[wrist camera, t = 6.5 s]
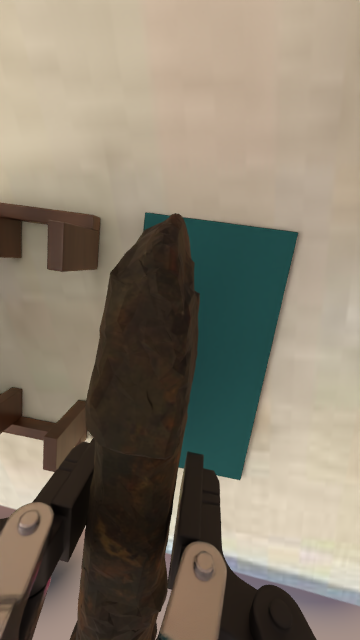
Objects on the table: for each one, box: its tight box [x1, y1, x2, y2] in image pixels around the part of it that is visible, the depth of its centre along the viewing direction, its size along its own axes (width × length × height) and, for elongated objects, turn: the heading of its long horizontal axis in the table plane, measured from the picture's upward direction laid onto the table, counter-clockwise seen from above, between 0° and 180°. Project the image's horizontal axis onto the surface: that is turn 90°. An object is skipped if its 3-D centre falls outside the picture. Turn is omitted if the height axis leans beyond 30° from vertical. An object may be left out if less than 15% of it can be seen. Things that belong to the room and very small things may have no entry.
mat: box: [143, 213, 298, 480], centre depth 25 cm, size 13×25×1 cm, turn 172°
